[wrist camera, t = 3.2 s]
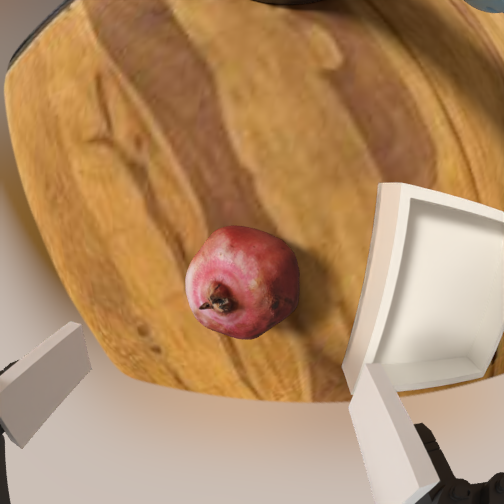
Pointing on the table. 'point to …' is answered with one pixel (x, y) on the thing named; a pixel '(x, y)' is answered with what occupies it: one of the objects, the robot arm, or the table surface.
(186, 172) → the table surface
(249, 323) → the fruit
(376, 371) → the robot arm
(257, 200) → the table surface
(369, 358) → the dish
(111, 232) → the table surface
